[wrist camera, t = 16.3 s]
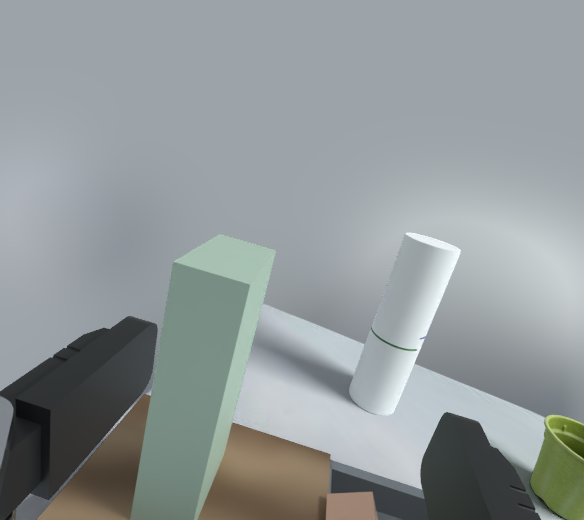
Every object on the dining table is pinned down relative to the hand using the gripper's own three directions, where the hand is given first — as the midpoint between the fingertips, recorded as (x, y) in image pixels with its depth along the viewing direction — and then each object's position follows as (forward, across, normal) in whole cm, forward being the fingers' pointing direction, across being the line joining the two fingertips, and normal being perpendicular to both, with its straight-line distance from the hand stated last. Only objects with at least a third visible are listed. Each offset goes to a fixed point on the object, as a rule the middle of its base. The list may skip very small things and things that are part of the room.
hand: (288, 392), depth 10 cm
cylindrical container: (+38, -13, +27) cm, 49 cm away
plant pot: (+30, -36, +27) cm, 54 cm away
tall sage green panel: (+11, +6, +19) cm, 22 cm away
